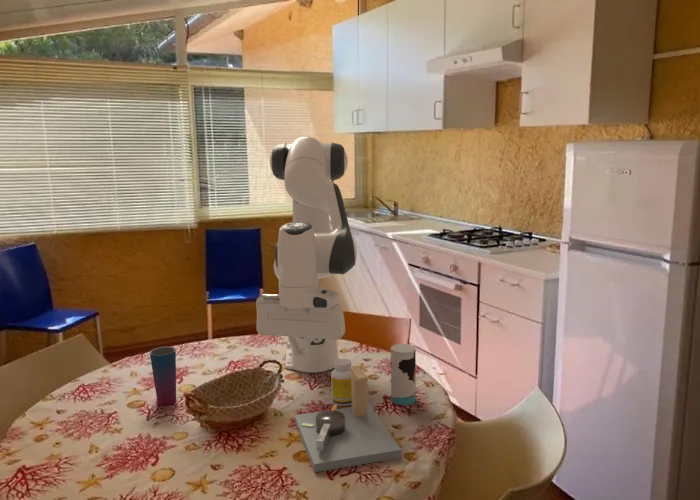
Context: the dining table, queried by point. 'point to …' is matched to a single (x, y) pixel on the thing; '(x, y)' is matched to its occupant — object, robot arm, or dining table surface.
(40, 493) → the dining table surface
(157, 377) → the cup
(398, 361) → the cup
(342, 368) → the pill bottle
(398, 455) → the stand base
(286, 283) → the robot arm
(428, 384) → the dining table surface
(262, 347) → the dining table surface
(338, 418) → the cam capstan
